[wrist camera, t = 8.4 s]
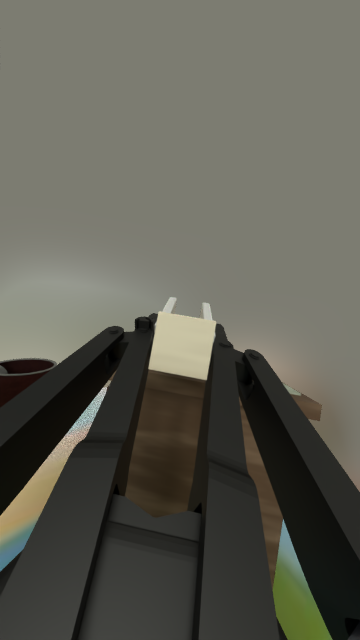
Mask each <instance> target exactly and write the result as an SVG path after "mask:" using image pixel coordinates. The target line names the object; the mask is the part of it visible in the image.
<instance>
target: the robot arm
mask: <svg viewBox="0 0 360 640" xmlns="http://www.w3.org/2000/svg"><path fill="white" fill-rule="evenodd" d="M176 300H177V298H173V297H170V298H169V300H168V302H167V304H166V306H165V307H164V309H163V311H162V312H166V313H171V314H175V308H176ZM157 318H158V314H155V313H153V314H151V315H149V317H138V318H137V319H135V331H133V332H124V329H123V328H122V327H118V326H112V327H108V328H106V329H105V330H104V331H102V332H101V333H100V334H98V335H97V336H96V337H94V338H93V339H92V340H90V341H89V342H88V343H86V344H85V345H84V346H82V347H81V348H80V349H78V350H77V351H76V352H74V353H73V354H72V355H70V356H69V357H68V358H66V359H65V360H63V361H62V362H61V363H59V364H58V365H57V366H55V367H54V368H53V369H51V370H50V371H49V372H47V373H46V374H45V375H43V376H42V377H41V378H39V379H38V380H37V381H35V382H34V383H33V384H31V385H30V386H29V387H27V388H26V389H25V390H23V391H22V392H21V393H19V394H18V395H17V396H15V397H14V398H13V399H11V400H10V401H9V402H7V403H6V404H5V405H3V406H2V407H1V408H0V515H1V514H2V513H3V512H4V511H5V509H6V508H7V507H8V506H9V505H10V503H11V502H12V501H13V500H14V499H15V497H16V496H17V495H18V494H19V493H20V491H21V490H22V489H23V488H24V486H25V485H26V484H27V483H28V481H29V480H30V479H31V478H32V476H33V475H34V474H35V472H36V471H37V470H38V469H39V467H40V466H41V465H42V464H43V462H44V461H45V460H46V459H47V457H48V456H49V455H50V454H51V452H52V451H53V450H54V448H55V447H56V446H57V445H58V443H59V442H60V441H61V440H62V438H63V437H64V436H65V435H66V433H67V432H68V431H69V430H70V428H71V427H72V426H73V424H74V423H75V422H76V421H77V419H78V418H79V417H80V416H81V414H82V413H83V412H84V411H85V409H86V408H87V407H88V406H89V404H90V403H91V402H92V400H93V399H94V398H95V397H96V395H97V394H98V393H99V392H100V390H101V389H102V388H103V387H104V385H105V384H106V383H107V381H108V380H109V379H110V378H111V376H112V375H113V374H114V373H115V371H116V373H115V375H114V377H113V379H112V381H111V383H110V386H109V388H108V390H107V392H106V394H105V397H104V399H103V401H102V403H101V405H100V408H99V410H98V412H97V414H96V416H95V419H94V421H93V423H92V425H91V427H90V430H89V432H88V434H87V436H86V437H85V438H84V440H82V441H80V442H79V443H78V444H77V445H76V446H75V448H74V449H73V451H72V453H71V454H70V456H69V458H68V460H67V462H66V464H65V466H64V468H63V470H62V472H61V474H60V476H59V478H58V480H57V482H56V484H55V486H54V488H53V491H52V493H51V495H50V497H49V499H48V501H47V503H46V505H45V507H44V509H43V511H42V513H41V515H40V517H39V519H38V521H37V523H36V525H35V527H34V529H33V531H32V533H31V535H30V537H29V539H28V541H27V543H26V545H25V547H24V549H23V550H22V551H21V552H20V553H19V554H18V555H17V556H16V557H15V558H14V559H13V560H12V561H11V562H10V563H9V564H8V565H7V566H6V567H5V568H4V569H3V570H2V571H1V572H0V640H287V638H286V636H285V634H284V631H283V629H282V627H281V625H280V623H279V621H278V619H277V617H276V612H275V605H274V599H273V592H272V585H271V578H270V571H269V564H268V558H267V551H266V544H265V537H264V530H263V524H262V517H261V510H260V503H259V497H258V492H257V488H256V485H255V482H254V480H253V479H252V477H251V476H250V475H249V473H248V470H247V464H246V455H245V446H244V437H243V428H242V419H241V411H240V402H239V397H240V400H241V403H242V406H243V408H244V411H245V414H246V417H247V419H248V422H249V425H250V428H251V431H252V433H253V436H254V439H255V442H256V444H257V447H258V450H259V453H260V455H261V458H262V461H263V464H264V467H265V469H266V472H267V475H268V478H269V480H270V483H271V486H272V489H273V491H274V494H275V497H276V500H277V503H278V505H279V508H280V511H281V514H282V516H283V519H284V522H285V525H286V527H287V530H288V533H289V536H290V538H291V541H292V544H293V547H294V550H295V552H296V555H297V558H298V560H299V563H300V565H301V568H302V571H303V573H304V576H305V578H306V581H307V583H308V586H309V588H310V591H311V593H312V595H313V598H314V600H315V602H316V604H317V607H318V609H319V611H320V613H321V616H322V618H323V620H324V622H325V625H326V627H327V629H328V631H329V633H330V635H331V637H332V639H333V640H360V492H359V491H358V489H357V488H356V486H355V485H354V483H353V482H352V481H351V479H350V478H349V476H348V475H347V474H346V472H345V471H344V469H343V468H342V467H341V465H340V464H339V462H338V461H337V459H336V458H335V457H334V455H333V454H332V453H331V451H330V450H329V448H328V447H327V445H326V444H325V443H324V441H323V440H322V438H321V437H320V436H319V434H318V433H317V431H316V430H315V428H314V427H313V426H312V424H311V423H310V421H309V420H308V419H307V417H306V416H305V414H304V413H303V412H302V410H301V409H300V407H299V406H298V404H297V403H296V402H295V400H294V399H293V397H292V396H291V395H290V393H289V392H288V390H287V389H286V388H285V386H284V385H283V383H282V382H281V381H280V379H279V378H278V376H277V375H276V373H275V372H274V371H273V369H272V368H271V366H270V365H269V364H268V362H267V361H266V359H265V358H264V357H263V356H262V355H261V354H260V353H259V352H257V351H255V350H251V349H247V350H245V352H244V353H242V352H240V351H237V350H235V349H234V348H233V345H232V344H231V343H230V342H229V341H228V340H227V337H226V334H225V331H224V328H223V326H222V325H221V324H216V327H215V333H214V339H213V345H212V351H211V357H210V363H209V369H208V375H207V380H206V383H205V390H204V398H203V406H202V414H201V421H200V429H199V437H198V445H197V452H196V460H195V468H194V476H193V482H192V487H191V491H190V496H189V502H188V508H187V511H185V512H180V513H176V514H171V515H167V516H162V517H157V518H155V517H152V516H151V515H149V514H148V513H147V512H145V511H144V510H143V509H141V508H140V507H139V506H137V505H136V504H135V503H133V502H132V501H131V500H130V499H128V498H127V497H125V493H126V488H127V481H128V473H129V466H130V461H131V456H132V451H133V446H134V441H135V436H136V431H137V426H138V421H139V416H140V411H141V406H142V401H143V396H144V391H145V386H146V381H147V377H148V372H149V369H148V368H149V362H150V357H151V351H152V346H153V340H154V335H155V329H156V324H157ZM199 318H200V319H206V320H212V315H211V310H210V305H209V303H202V308H201V313H200V317H199ZM212 321H213V320H212Z"/></svg>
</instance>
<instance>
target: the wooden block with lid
mask: <svg viewBox="0 0 360 640" xmlns="http://www.w3.org/2000/svg"><path fill="white" fill-rule="evenodd" d="M115 373H116V371H115ZM115 373H114V374H113V375H112V376H111V378H110V379H109V380H111V381H112V379H113V377H114V375H115ZM205 383H206V380H203V379H198V378H193V377H187V376H182V375H177V374H172V373H166V372H161V371H156V370H150V369H149V372H148V377H147V381H146V386H145V391H144V396H143V401H142V406H141V411H140V416H139V421H138V426H137V431H136V436H135V441H134V446H133V451H132V456H131V461H130V466H129V473H128V481H127V488H126V493H125V497H127V498H128V499H130V500H131V501H132V502H133V503H135V504H136V505H137V506H139V507H140V508H141V509H143V510H144V511H145V512H147V513H148V514H149V515H151V516H152V517H155V518H157V517H162V516H167V515H171V514H176V513H180V512H185V511H187V508H188V502H189V496H190V491H191V487H192V482H193V476H194V468H195V460H196V452H197V445H198V437H199V429H200V421H201V414H202V406H203V398H204V390H205ZM282 383H283V382H282ZM283 385H284V386H285V388H286V389H287V390H288V392H289V393H290V395H291V396H292V397H293V399H294V400H295V402H296V403H297V404H298V406H299V407H300V409H301V410H302V412H303V413H304V414H305V416H306V417H307V419H312V420H317V421H320V414H321V408H322V405H321V404H319V403H317V402H316V401H314V400H312V399H310V398H309V397H307V396H305V395H303V394H302V393H300V392H298V391H297V390H295V389H293V388H291V387H290V386H288V385H286V384H284V383H283ZM239 402H240V411H241V419H242V428H243V437H244V446H245V455H246V464H247V470H248V473H249V475H250V476H251V477H252V479H253V480H254V482H255V485H256V488H257V492H258V497H259V503H260V510H261V517H262V524H263V530H264V537H265V544H266V551H267V558H268V564H269V571H270V578H271V585H272V590H273V583H274V576H275V569H276V562H277V555H278V549H279V542H280V535H281V528H282V521H283V516H282V514H281V511H280V508H279V505H278V503H277V500H276V497H275V494H274V491H273V489H272V486H271V483H270V480H269V478H268V475H267V472H266V469H265V467H264V464H263V461H262V458H261V455H260V453H259V450H258V447H257V444H256V442H255V439H254V436H253V433H252V431H251V428H250V425H249V422H248V419H247V417H246V414H245V411H244V408H243V406H242V403H241V400H240V397H239Z"/></svg>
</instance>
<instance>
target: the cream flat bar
mask: <svg viewBox="0 0 360 640" xmlns="http://www.w3.org/2000/svg"><path fill="white" fill-rule="evenodd" d="M215 327H216V321H212V320H206V319H200V318H194V317H188V316H183V315H177V314H171V313H166V312H160V311H159V313H158V318H157V324H156V329H155V335H154V340H153V346H152V351H151V357H150V362H149V368H148V369H150V370H156V371H161V372H166V373H172V374H177V375H182V376H187V377H193V378H198V379H203V380H207V375H208V369H209V363H210V357H211V351H212V345H213V339H214V333H215Z"/></svg>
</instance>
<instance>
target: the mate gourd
mask: <svg viewBox="0 0 360 640" xmlns="http://www.w3.org/2000/svg"><path fill="white" fill-rule="evenodd" d="M55 366H57V363H56V362H55V361H52V360H48V359H39V358H24V359H13V360H6V361H1V362H0V408H1V407H2V406H3V405H5V404H6V403H7V402H9V401H10V400H11V399H13V398H14V397H15V396H17V395H18V394H19V393H21V392H22V391H23V390H25V389H26V388H27V387H29V386H30V385H31V384H33V383H34V382H35V381H37V380H38V379H39V378H41V377H42V376H43V375H45V374H46V373H47V372H49V371H50V370H51V369H53V368H54V367H55Z"/></svg>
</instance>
